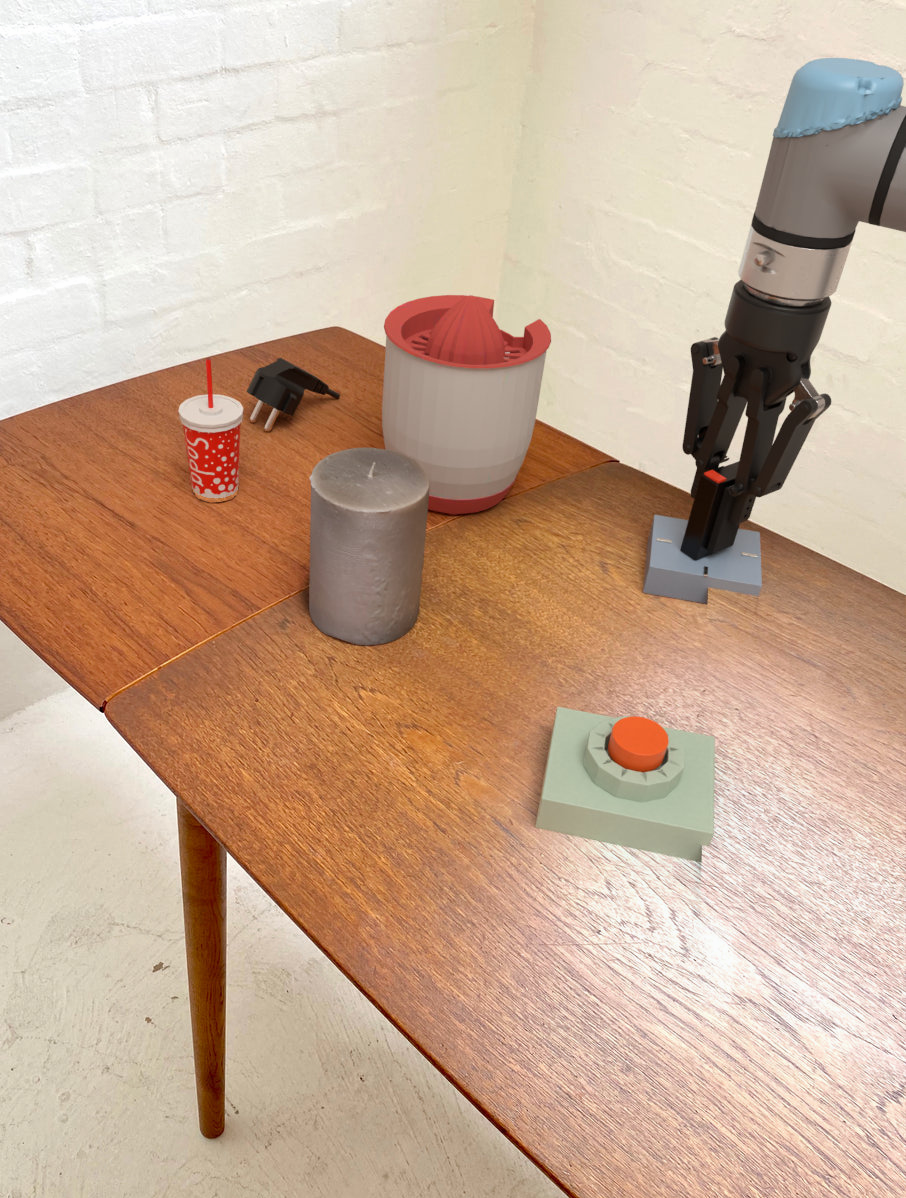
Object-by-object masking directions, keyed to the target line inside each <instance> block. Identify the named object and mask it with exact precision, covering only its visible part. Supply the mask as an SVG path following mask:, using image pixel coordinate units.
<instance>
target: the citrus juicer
mask: <svg viewBox="0 0 906 1198" xmlns="http://www.w3.org/2000/svg"><path fill="white" fill-rule="evenodd" d="M494 307H495V299H493V298H487V297H483V296H476V295H473V294H472V295H471V294H470V295H467V294H462V295H461V294H445V295H444V294H443V295H442V294H441V295H432V296H425V297H419V298H416V299H413V300H409V301H405V302H404V303H402V304H400V305H398V306H396V307H394V309H392V310H391V311H390V312H389V313H388V314H387V316H386V317H385V319H384V323H383V329H384V334H385V351H384V352H385V354H384V367H383V368H384V369H383V370H384V371H383V384H382V385H383V387H382V404H381V427H382V428H381V429H382V436H383V443H384V448H385V449H386V450H390V451H393V452H397V453H400V454H403V455H405V456H407V457H410V458H411V459H413V460H415V461H416V462H417V463H419V464H420V465H421V466H422V467H424V469H425V471H426V472H427V474H428V477H429V481H430V490H429V501H428V511H433V512H439V513H445V514H448V515H451V516H456V515H460V514H473V513H478V512H481V511H486V510H488V509H490V508H493V507H495V506H496V505H498V504H499V503H501V502H502V500H503V499H504V498H505V497H506V496H507V494H508V492H509V491H510V490H511V488H512V486H513V485H514V484H515V482H516V480H517V477H518V474H519V472H520V469H521V467H522V466H523V463H524V460H525V458H526V456H527V453H528V450H529V447H530V445H531V442H532V437H533V433H534V429H535V425H536V420H537V415H538V414H537V413H538V407H539V401H540V394H541V387H542V382H543V375H544V371H545V363H546V357H547V352H548V351H547V350H548V349H549V348H550V347H551V346H550V345H551V344H552V334H551V330H550V329H549V327H548V325H547V324H546V322H544V321H543V320H542V319H541V318H538V319H537V320H535V321H533V322H531V323H529V324H527V325H526V326H524V329H523V336H513V335H512V334H511V333H509V332H507V331H505V330H503V329H501V328H500V327H499V325H498V324H497V321H496V320H495V319H494Z"/></svg>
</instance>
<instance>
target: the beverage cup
mask: <svg viewBox="0 0 906 1198" xmlns="http://www.w3.org/2000/svg"><path fill="white" fill-rule="evenodd" d="M205 373H206V387H207V388H206V389H207V394H199V395H195V396H192V397H188V398H187V399H185V400H184V401H183V402H182V403H180V404H179V408H178V415H179V420H180V422H181V424H182V429H183V436H184V444H185V449H186V457H187V462H188V470H189V478H190V485H191V490H192V489H193V490H194V492H195V493H197V494H198V495H201V496H203V497H207V498H215V499H216V498H217V499H218V498H223V497H224V498H225V497H227V496H230V495H233V494H234V493H235V492H236V491H237V490H238V486H239V487H240V452H241V423H242V422H243V418H244V406H243V405H242V404H241V402H240V401H238V400H237V399H235V398H233V397H231V396H227V395H223V394H215V393H213V375H212V358H210V357H207V358H205ZM238 491H239V490H238Z"/></svg>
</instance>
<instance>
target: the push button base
mask: <svg viewBox="0 0 906 1198" xmlns="http://www.w3.org/2000/svg"><path fill="white" fill-rule="evenodd" d="M626 717H632V715H622V716H609V715H604V714H598V713H595V712H588V711H582V710H578V709H572V708H567V707H563V706H557V707H556V710H555V715H554V720H553V723H552V724H553V725H552V729H551V734H550V738H549V739H550V740H549V745H548V750H547V757H546V762H545V768H544V774H543V778H542V785H541V791H540V797H539V803H538V808H537V814H536V819H535V826H534V828H535V829H538V830H544V831H549V832H552V833H553V832H554V833H558V834H563V835H567V836H573V837H578V838H581V839H582V838H583V839H587V840H591V841H596V842H602V843H606V844H611V845H615V846H619V847H620V846H621V847H626V848H630V849H633V850H640V851H644V852H649V853H654V854H659V855H663V856H668V857H673V858H678V859H683V860H687V861H693V862H697V863H702V862H703V846H704V847H710V845H711V843H712V840H713V837H714V834H715V783H716V782H715V779H716V778H715V777H716V776H715V774H716V771H715V770H716V737H715V736H711V735H707V734H702V733H697V732H691V731H686V730H683V729H676V728H672V727H671V728H670V727H665V726H663V725H661V724H659V725H660V726H661V727H662V728H663V729H664V730H665V731H666V733H667V735H668V739H669V742H668V746H667V749H666V753H665V756H664V759H663V762H662V764H661V765H660V766H659V767H658V768H656V769H655V770H652V771H649V772H638V771H633V770H628V769H625V768H623V767H621V766H620V765H618V764H617V763H615V762H614V761H613V760H612V758H611V757H610V755H609V752H608V744H609V740H610V736H611V732H612V729H613V726H614V725H615V723H616V722H617V721H619V720H620V719H623V718H626Z"/></svg>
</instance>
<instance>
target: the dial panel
mask: <svg viewBox="0 0 906 1198" xmlns="http://www.w3.org/2000/svg"><path fill="white" fill-rule="evenodd" d="M688 520H689V519H684V518H678V517H671V516H666V515H662V514H661V515H660V514H653V518H652V522H651V526H650V531H649V534H648V538H647V545H646V554H645V555H646V556H645V564H644V565H645V566H644V576H643V585H642V586H643V587H642V593H643V594H648V595H654V596H658V597H665V598H669V599H675V600H676V599H677V600H682V601H687V602H694V603H698V604H705V605H708V603H709V601H708V600H709V588H710V589H715V590H721V591H727V592H732V593H737V594H738V593H739V594H743V595H750V596H753V597H754V596H755V597H759V596H760V593H761V590H762V588H763V578H762V577H763V576H762V550H761V532H760V531H756V530H749V529H743V528H738V532H737V535H736V538H735V541H734V544H733V546H730V547H728V548H726V549H723V550H721V551H718V552H716V553H714V554H711V555H708V556H706V557H704V558H701V559H699V560H696V561H695V560H693V559H692V558H690V557H689V556H688V555H686V554H685V553H683V552H682V551H680V549H681V545H682V542H683V538H684V534H685V531H686V527H687V524H688Z"/></svg>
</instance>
